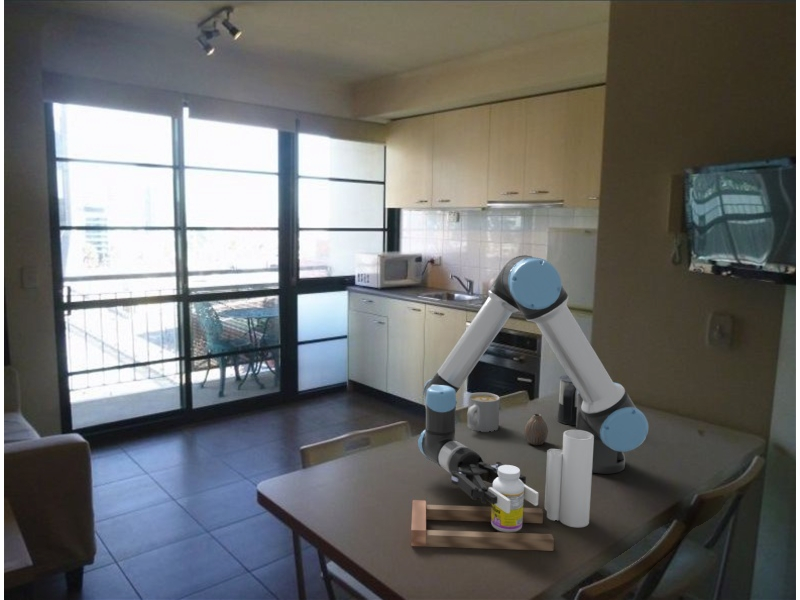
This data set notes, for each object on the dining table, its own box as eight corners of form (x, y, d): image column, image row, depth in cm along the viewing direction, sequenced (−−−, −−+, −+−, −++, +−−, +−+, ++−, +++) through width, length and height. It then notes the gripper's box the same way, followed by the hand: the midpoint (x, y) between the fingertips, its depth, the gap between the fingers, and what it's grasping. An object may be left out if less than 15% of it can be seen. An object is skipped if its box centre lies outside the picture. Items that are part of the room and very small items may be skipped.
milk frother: (555, 415, 204) (557, 374, 202) (603, 418, 201) (605, 376, 199) (560, 430, 190) (562, 385, 188) (611, 433, 187) (614, 388, 185)
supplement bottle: (487, 518, 130) (489, 462, 128) (517, 517, 130) (519, 462, 128) (495, 534, 123) (497, 476, 121) (526, 533, 123) (528, 475, 122)
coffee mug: (482, 419, 199) (483, 390, 198) (504, 427, 191) (505, 397, 190) (453, 427, 191) (454, 397, 189) (475, 436, 183) (476, 405, 182)
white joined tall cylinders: (594, 520, 132) (599, 435, 130) (578, 531, 128) (582, 443, 125) (551, 502, 141) (555, 421, 138) (533, 512, 136) (537, 429, 133)
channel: (540, 518, 133) (541, 504, 132) (553, 550, 120) (554, 534, 119) (412, 514, 134) (412, 500, 133) (411, 545, 121) (411, 529, 121)
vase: (534, 448, 174) (535, 420, 173) (519, 440, 180) (520, 413, 179) (552, 444, 177) (553, 416, 176) (537, 437, 183) (538, 410, 182)
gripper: (493, 469, 146) (558, 510, 126) (425, 484, 137) (483, 531, 117) (494, 440, 145) (560, 476, 125) (426, 453, 136) (484, 495, 116)
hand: (522, 502), depth 121 cm, fingers closed on supplement bottle, 7 cm apart
